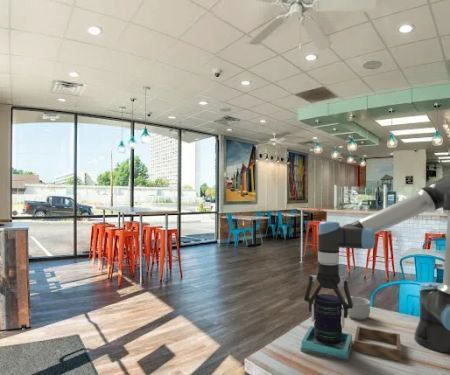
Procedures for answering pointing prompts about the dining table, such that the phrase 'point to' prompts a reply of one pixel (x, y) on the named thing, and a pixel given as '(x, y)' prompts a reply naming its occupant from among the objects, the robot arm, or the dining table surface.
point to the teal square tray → (327, 346)
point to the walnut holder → (374, 348)
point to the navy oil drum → (328, 319)
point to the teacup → (359, 308)
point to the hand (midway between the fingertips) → (327, 323)
